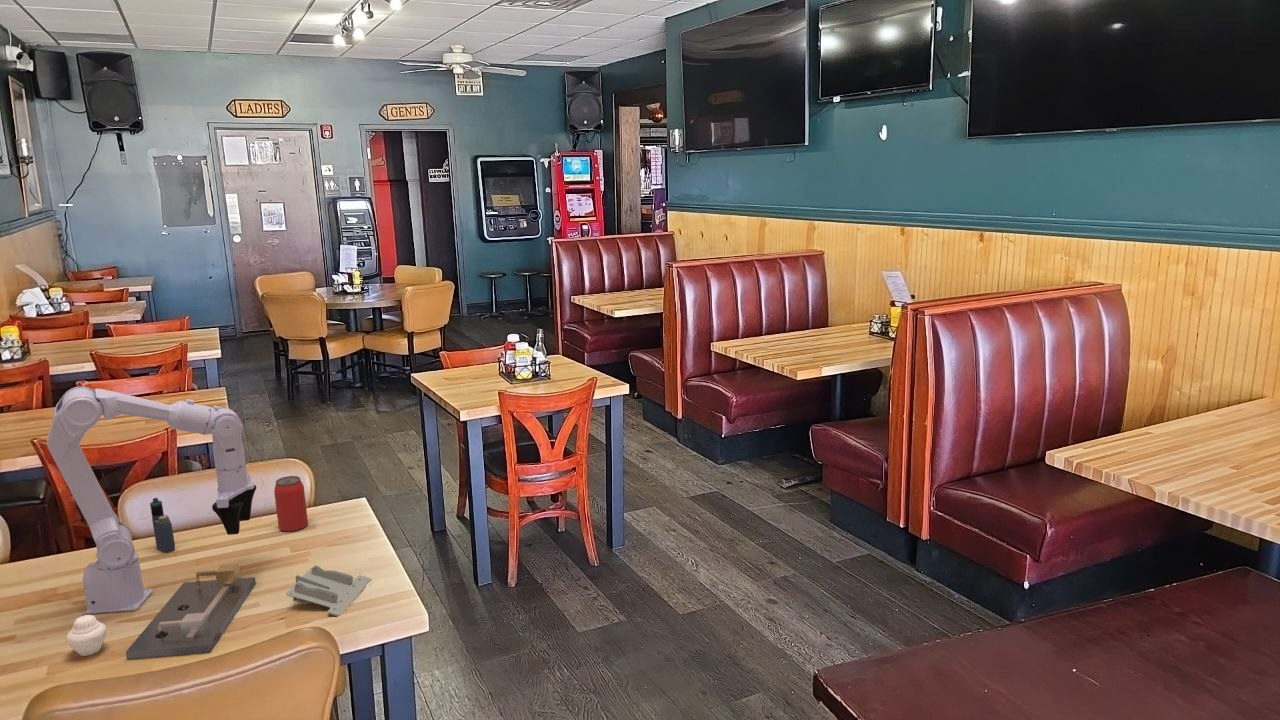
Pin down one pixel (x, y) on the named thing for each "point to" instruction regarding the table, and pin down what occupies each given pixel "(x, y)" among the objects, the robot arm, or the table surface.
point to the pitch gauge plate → (196, 606)
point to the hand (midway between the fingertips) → (239, 526)
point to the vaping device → (162, 527)
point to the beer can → (290, 503)
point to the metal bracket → (328, 589)
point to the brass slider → (222, 574)
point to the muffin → (87, 635)
